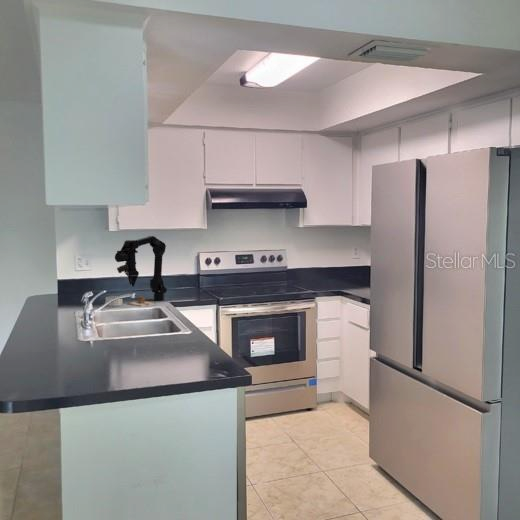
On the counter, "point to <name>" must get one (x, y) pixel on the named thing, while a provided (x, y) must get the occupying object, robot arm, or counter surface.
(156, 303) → the mat
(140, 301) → the lid
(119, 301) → the bowl
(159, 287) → the robot arm
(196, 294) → the counter surface
